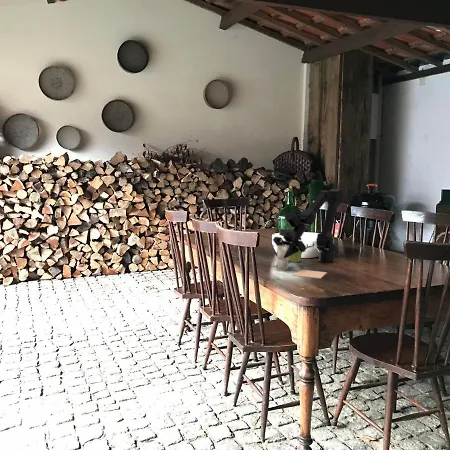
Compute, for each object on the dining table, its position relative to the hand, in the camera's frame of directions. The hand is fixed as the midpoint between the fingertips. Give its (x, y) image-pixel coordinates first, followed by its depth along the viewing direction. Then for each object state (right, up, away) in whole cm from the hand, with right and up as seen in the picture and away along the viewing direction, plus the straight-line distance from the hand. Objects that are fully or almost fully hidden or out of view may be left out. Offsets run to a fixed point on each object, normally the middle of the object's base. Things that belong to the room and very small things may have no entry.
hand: (280, 257), depth 241 cm
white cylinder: (+1, -6, +2) cm, 7 cm away
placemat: (+13, -8, -8) cm, 17 cm away
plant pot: (+10, -4, +23) cm, 25 cm away
